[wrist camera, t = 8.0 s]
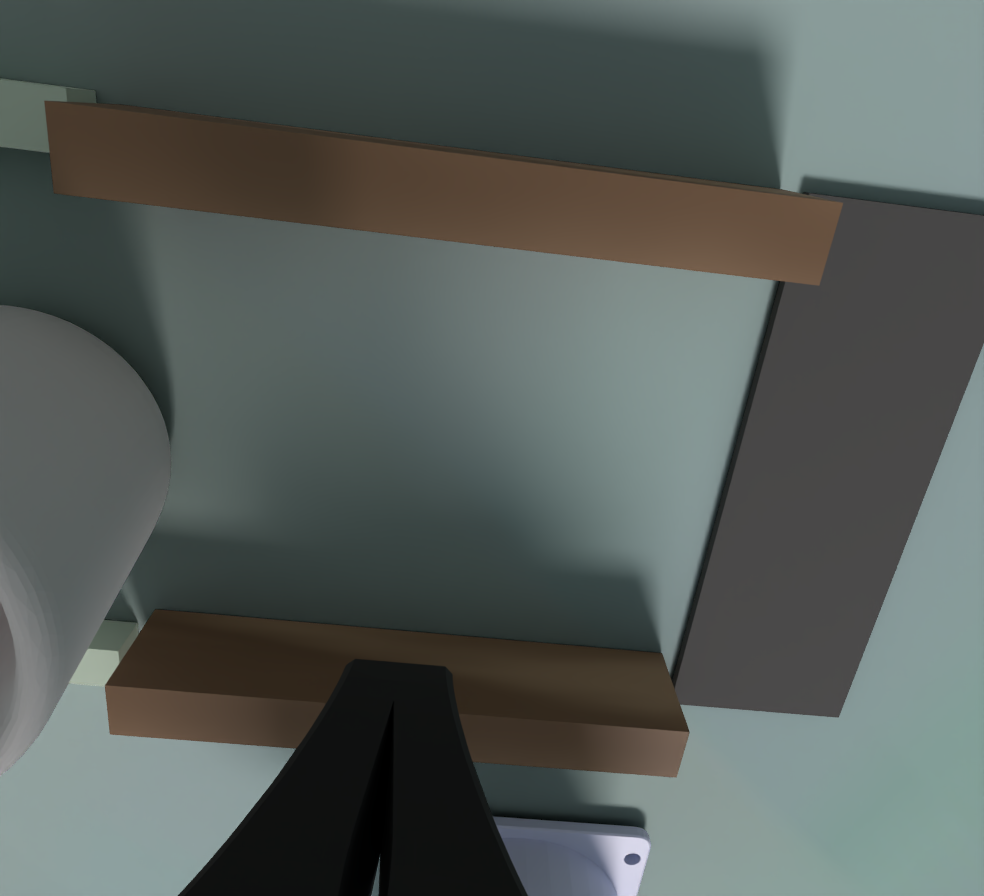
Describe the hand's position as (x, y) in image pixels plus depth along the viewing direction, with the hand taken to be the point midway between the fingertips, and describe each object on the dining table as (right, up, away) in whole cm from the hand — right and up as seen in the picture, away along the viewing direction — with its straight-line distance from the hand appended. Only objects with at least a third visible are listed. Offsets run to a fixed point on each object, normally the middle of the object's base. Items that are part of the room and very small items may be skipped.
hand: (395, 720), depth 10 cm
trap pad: (+10, +3, +9) cm, 14 cm away
